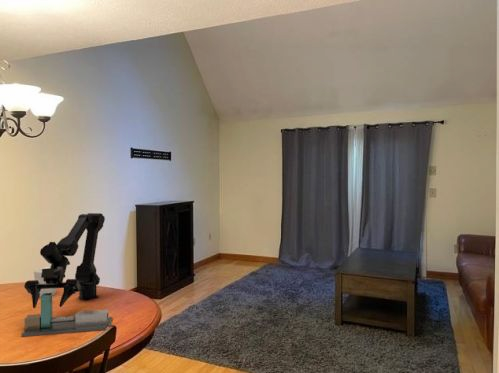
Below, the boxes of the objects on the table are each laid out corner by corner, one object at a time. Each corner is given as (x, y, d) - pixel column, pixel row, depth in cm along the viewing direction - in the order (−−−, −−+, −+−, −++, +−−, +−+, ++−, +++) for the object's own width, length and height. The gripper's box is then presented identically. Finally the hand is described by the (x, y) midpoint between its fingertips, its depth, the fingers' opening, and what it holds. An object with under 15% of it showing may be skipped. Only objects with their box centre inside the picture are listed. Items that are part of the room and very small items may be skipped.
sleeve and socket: (112, 319, 147) (112, 306, 147) (108, 329, 138) (108, 315, 137) (31, 325, 141) (31, 312, 141) (21, 336, 131) (21, 322, 131)
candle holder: (62, 292, 180) (62, 267, 180) (45, 298, 171) (44, 272, 170) (46, 290, 183) (46, 266, 183) (29, 296, 174) (28, 270, 173)
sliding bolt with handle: (84, 321, 142) (83, 290, 141) (82, 324, 139) (81, 293, 138) (31, 325, 138) (31, 294, 138) (29, 328, 135) (28, 296, 135)
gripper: (25, 259, 141) (11, 298, 131) (77, 258, 144) (67, 296, 133) (35, 274, 150) (23, 312, 139) (84, 272, 152) (75, 309, 141)
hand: (47, 307), depth 138 cm, fingers open, 9 cm apart
